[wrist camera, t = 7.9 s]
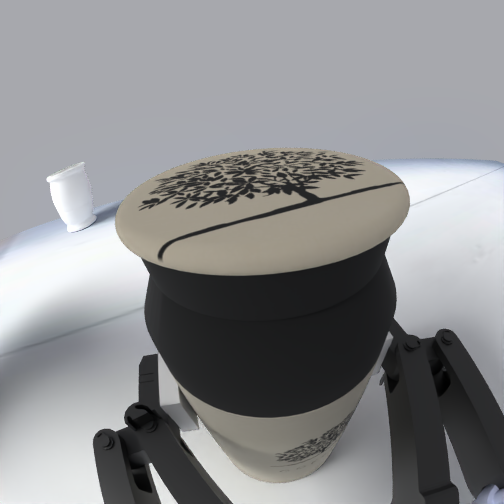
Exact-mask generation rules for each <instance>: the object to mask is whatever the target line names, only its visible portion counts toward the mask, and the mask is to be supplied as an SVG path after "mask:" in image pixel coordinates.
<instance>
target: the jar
mask: <svg viewBox="0 0 504 504" xmlns="http://www.w3.org/2000/svg"><path fill="white" fill-rule="evenodd" d="M84 167H85V164H84V162H82V163H78V164H74V165H72V166H69V167H67V168H64V169H62V170H60V171H58V172H56V173H54V174H52V175H50V176H49V177H48V178H47V181H48V182H50V190H51V195H52V199H53V202H54V204H55V207H56V209H57V210H58V212H59V214H60V216H61V218H62V220H63V221H64V222H65V223H66V224H67V225H68V228H67V230H68V231H69V232H76V231H79V230H82V229H84V228H86V227H88V226H90V225H91V224H92V223H94V222H95V220H96V216H95V215H94V214H93V210H94V203H93V198H92V190H91V185H90V181H89V179H88V176H87V174H86V172H85V171H84Z"/></svg>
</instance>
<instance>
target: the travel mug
mask: <svg viewBox="0 0 504 504" xmlns="http://www.w3.org/2000/svg"><path fill="white" fill-rule="evenodd" d="M409 207H410V197H409V193H408V190H407V188H406V186H405V184H404V183H403V182H402V180H401V179H400V178H399V177H398V176H397V175H396V174H395V173H393V172H392V171H390V170H389V169H387V168H385V167H384V166H382V165H380V164H378V163H375V162H373V161H370V160H368V159H365V158H362V157H358V156H355V155H350V154H346V153H341V152H335V151H328V150H321V149H308V148H268V149H255V150H246V151H239V152H232V153H226V154H221V155H216V156H212V157H208V158H204V159H200V160H196V161H193V162H190V163H186V164H183V165H180V166H178V167H175V168H172V169H170V170H168V171H165V172H163V173H161V174H159V175H157V176H155V177H153V178H151V179H149V180H147V181H146V182H144V183H143V184H141V185H140V186H138V187H137V188H135V189H134V190H133V191H132V192H131V193H130V194H129V195H128V196H127V197H126V198H125V199H124V200H123V202H122V203H121V204H120V206H119V208H118V210H117V213H116V217H115V227H116V231H117V234H118V236H119V238H120V240H121V242H122V243H123V244H124V245H125V246H126V247H127V248H128V249H129V250H130V251H132V252H133V253H134V254H136V255H137V256H139V257H141V259H142V260H143V262H144V264H145V266H146V268H147V270H148V272H149V273H150V277H149V282H148V288H147V294H146V300H145V310H144V314H145V321H146V325H147V329H148V332H149V334H150V336H151V338H152V340H153V342H154V344H155V346H156V348H157V350H158V351H159V353H160V355H161V357H162V359H163V360H164V362H165V364H166V366H167V367H168V369H169V371H170V373H171V374H172V376H173V378H174V379H175V381H176V383H177V384H178V386H179V387H180V389H181V391H182V392H183V394H184V395H185V397H186V399H187V400H188V402H189V403H190V405H191V406H192V408H193V409H194V411H195V412H196V414H197V415H198V417H199V418H200V420H201V421H202V422H203V424H204V425H205V427H206V428H207V430H208V431H209V432H210V434H211V435H212V436H213V438H214V439H215V440H216V442H217V443H218V444H219V446H220V447H221V448H222V450H223V451H224V452H225V454H226V455H227V456H228V457H229V459H230V460H231V461H232V462H233V464H234V465H235V466H236V467H237V468H238V469H239V470H241V471H242V472H243V473H245V474H246V475H248V476H250V477H252V478H254V479H257V480H260V481H264V482H269V483H286V482H292V481H295V480H299V479H301V478H304V477H306V476H308V475H310V474H311V473H313V472H314V471H316V470H317V469H318V468H319V467H320V466H321V465H322V464H323V463H324V462H325V461H326V459H327V458H328V457H329V455H330V453H331V452H332V450H333V449H334V447H335V445H336V444H337V442H338V440H339V438H340V437H341V435H342V433H343V431H344V430H345V428H346V426H347V424H348V422H349V420H350V419H351V417H352V415H353V413H354V411H355V409H356V407H357V405H358V403H359V401H360V399H361V397H362V395H363V393H364V390H365V388H366V386H367V384H368V382H369V379H370V377H371V375H372V373H373V370H374V368H375V366H376V363H377V361H378V358H379V356H380V353H381V351H382V348H383V346H384V343H385V340H386V338H387V335H388V332H389V329H390V326H391V324H392V321H393V317H394V314H395V310H396V301H397V298H396V288H395V283H394V280H393V277H392V274H391V271H390V268H389V265H388V262H387V259H386V257H385V252H386V248H387V245H388V242H389V239H390V236H391V235H392V234H393V233H395V232H396V230H397V229H398V228H399V227H400V226H401V225H402V224H403V222H404V220H405V218H406V217H407V214H408V211H409Z"/></svg>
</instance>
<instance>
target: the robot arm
mask: <svg viewBox="0 0 504 504" xmlns="http://www.w3.org/2000/svg"><path fill="white" fill-rule="evenodd" d="M381 366H382V367H383V369H384V370H385V372H384V374H383V376H382V378H381V380H380V385H382V383H383V382H384V384H385V391H386V398H387V406H388V415H389V425H390V436H391V450H392V473H393V499H392V503H391V504H459V492H458V489H457V487H456V486H455V485H454V484H452V483H451V481H450V472H449V462H448V453H447V445H446V438H445V432H444V427H445V429H446V431H447V434H448V436H449V439H450V441H451V443H452V446H453V448H454V451H455V453H456V456H457V459H458V461H459V464H460V467H461V470H462V472H463V475H464V478H465V481H466V483H467V486H468V488H469V490H470V492H471V493H472V495H473V496H474V497H475V500H474V501H473V502H472V504H504V415H503V413H502V411H501V409H500V407H499V405H498V403H497V402H496V400H495V398H494V396H493V394H492V392H491V390H490V389H489V387H488V385H487V383H486V381H485V380H484V378H483V376H482V375H481V373H480V371H479V370H478V368H477V366H476V365H475V363H474V361H473V360H472V358H471V357H470V355H469V354H468V352H467V350H466V349H465V347H464V346H463V344H462V343H461V341H460V340H459V338H458V337H457V335H456V334H455V333H454V332H453V331H451V330H449V329H441V330H439V331H438V332H437V334H436V336H435V337H432V338H426V339H419V338H418V337H417V336H414V335H408V334H407V333H406V332H405V331H404V330H403V329H402V328H401V326H400V325H399V324H398V323H397V322H396V321H395V319H394V318H393V321H392V324H391V326H390V329H389V332H388V335H387V338H386V340H385V343H384V346H383V348H382V351H381V353H380V356H379V358H378V361H377V363H376V366H375V368H374V370H373V373H372V375H375V374H377V373H378V372H379V370H380V368H381ZM444 367H445V368H444ZM372 375H371V376H372ZM124 420H125V424H127V425H128V427H126V428H124V429H121V430H119V431H116V432H115V431H113V430H111V429H102V430H100V431H98V432H97V433H96V434H95V437H94V439H93V448H94V455H95V461H96V467H97V473H98V478H99V483H100V487H101V492H102V496H103V500H104V504H161V502H160V499H159V496H158V493H157V490H156V487H155V484H154V481H153V478H152V475H151V471H150V468H149V463H152V464H153V466H154V468H155V469H156V471H157V473H158V474H159V476H160V477H161V479H162V481H163V482H164V484H165V485H166V487H167V488H168V490H169V491H170V493H171V494H172V496H173V497H174V499H175V500H176V501H177V503H178V504H233V503H232V502H231V501H230V500H229V499H228V497H227V496H226V495H225V494H224V493H223V492H222V490H221V489H220V488H219V487H218V486H217V484H216V483H215V482H214V481H213V480H212V478H211V477H210V476H209V474H208V473H207V472H206V471H205V469H204V468H203V467H202V465H201V464H200V463H199V461H198V460H197V459H196V457H195V456H194V454H193V453H192V452H191V450H190V449H189V447H188V446H187V445H186V443H185V442H184V440H183V439H182V438H181V436H180V429H181V430H182V431H183V432H185V431H191V430H198V429H199V425H198V419H197V414H196V412H195V411H194V409H193V408H192V406H191V405H190V403H189V402H188V400H187V399H186V397H185V395H184V394H183V392H182V391H181V389H180V387H179V386H178V384H177V383H176V381H175V379H174V378H173V376H172V374H171V373H170V371H169V369H168V367H167V366H166V364H165V362H164V360H163V359H162V357H161V355H160V353H159V351H158V354H153V355H147V356H143V358H142V360H141V362H140V365H139V402H137V403H134V404H132V405H131V406H129V407H128V409H127V410H126V412H125V416H124ZM443 424H444V426H443ZM179 428H180V429H179Z"/></svg>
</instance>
